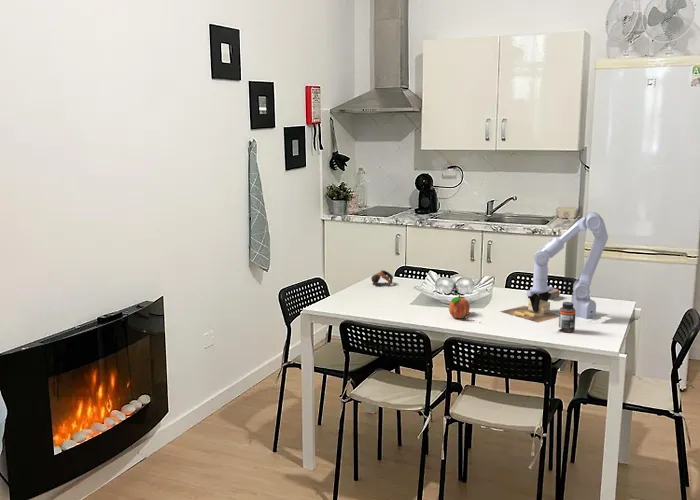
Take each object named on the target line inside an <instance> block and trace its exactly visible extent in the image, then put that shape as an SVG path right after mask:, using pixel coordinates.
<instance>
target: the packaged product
mask: <svg viewBox="0 0 700 500" xmlns="http://www.w3.org/2000/svg"><path fill="white" fill-rule="evenodd" d="M548 293H551V296H550V298H549V300H548V301H553V302H556V301H560V300H563V299H564V297H563V296H560V290H559V289H558V288H554V287H553V291H552V292H550V291H549V292H548ZM538 296H539V295H538ZM527 298H528V299H529V297H528V296H527Z"/></svg>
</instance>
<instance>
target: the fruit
mask: <svg viewBox="0 0 700 500" xmlns="http://www.w3.org/2000/svg"><path fill="white" fill-rule="evenodd" d="M448 311H449V314H450V315H451V317H452V318H454V319H464V318H466V316H468V314H469V313H470V303H469V301H468V299H466V297H465V296H461V294H460V293H459V294H458V296H456V297H453V298H452V299H450V301H449V304H448Z"/></svg>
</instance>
